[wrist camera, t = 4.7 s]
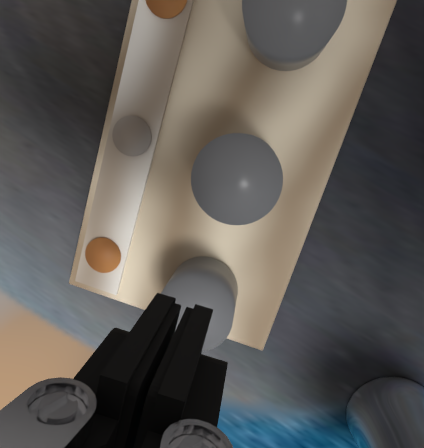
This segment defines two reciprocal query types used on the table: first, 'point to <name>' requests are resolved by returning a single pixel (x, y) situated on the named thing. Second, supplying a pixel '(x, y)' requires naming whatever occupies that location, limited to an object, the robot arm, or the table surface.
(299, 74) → the button board
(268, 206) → the button middle
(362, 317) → the table surface
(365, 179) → the table surface
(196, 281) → the button
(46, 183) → the table surface
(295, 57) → the button
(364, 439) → the beer glass
